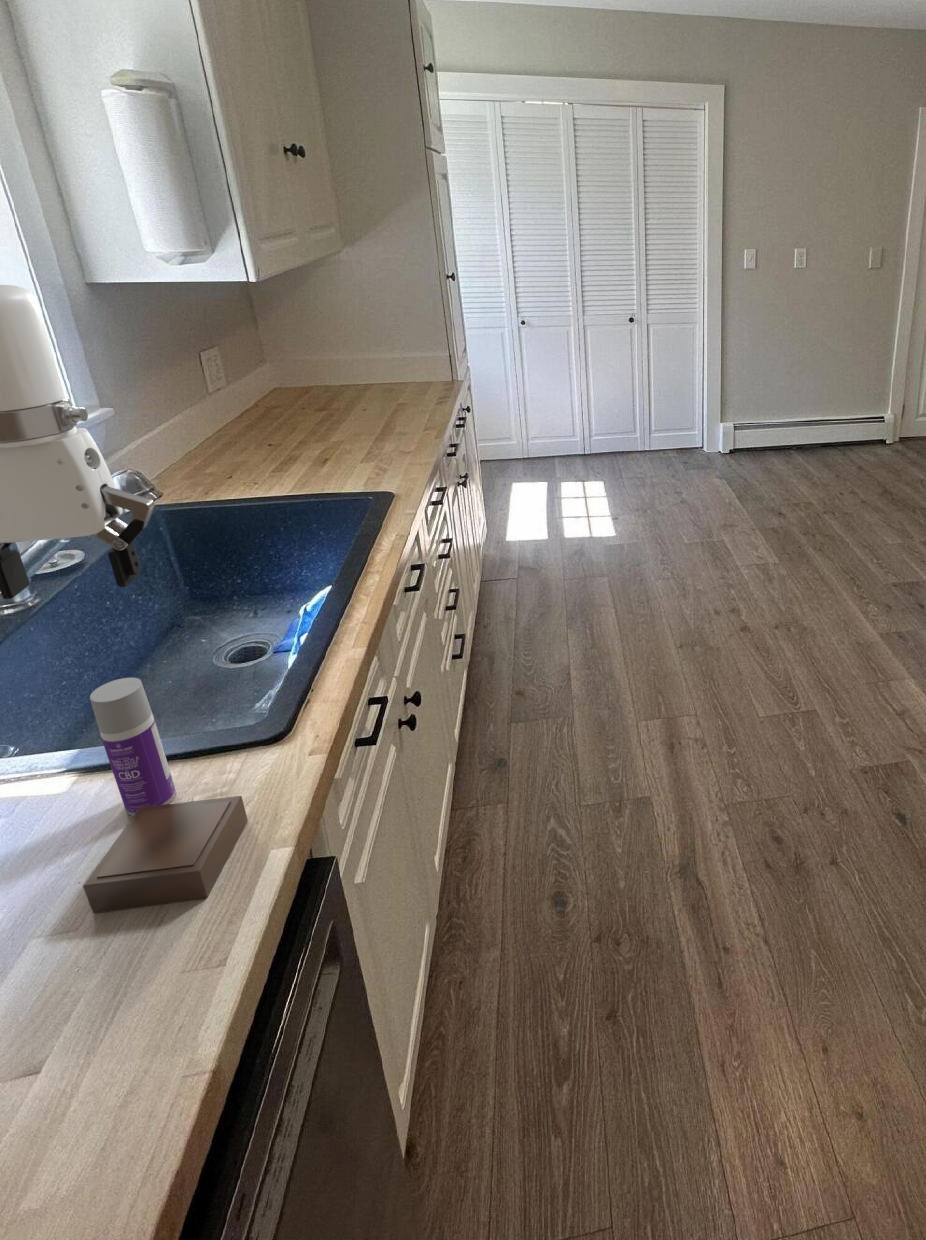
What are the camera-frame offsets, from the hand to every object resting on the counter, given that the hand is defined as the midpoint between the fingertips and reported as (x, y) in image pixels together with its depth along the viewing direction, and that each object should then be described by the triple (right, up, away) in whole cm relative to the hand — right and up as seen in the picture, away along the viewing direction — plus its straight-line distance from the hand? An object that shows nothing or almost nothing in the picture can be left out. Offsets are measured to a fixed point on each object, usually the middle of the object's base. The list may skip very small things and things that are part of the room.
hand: (74, 586), depth 74 cm
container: (+1, -26, +9) cm, 28 cm away
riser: (+10, -29, +1) cm, 30 cm away
